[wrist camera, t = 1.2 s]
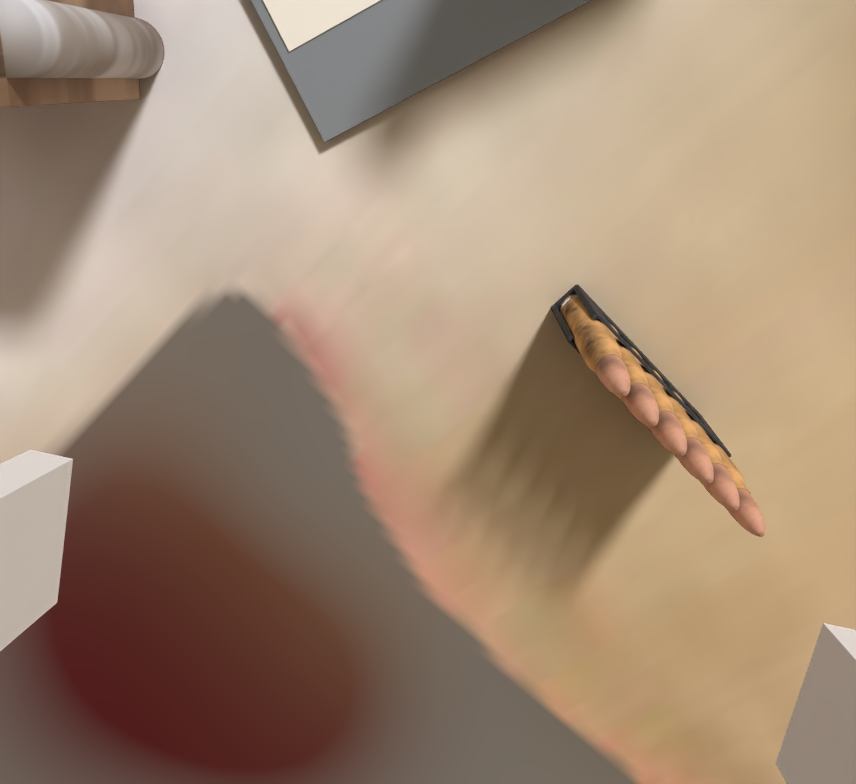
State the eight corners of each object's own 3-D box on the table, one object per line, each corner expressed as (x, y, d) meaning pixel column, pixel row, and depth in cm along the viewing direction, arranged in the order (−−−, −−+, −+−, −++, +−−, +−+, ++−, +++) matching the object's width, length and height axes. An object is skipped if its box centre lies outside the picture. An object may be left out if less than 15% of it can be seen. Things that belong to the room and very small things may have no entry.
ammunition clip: (703, 417, 43) (794, 535, 32) (676, 438, 43) (757, 562, 32) (576, 283, 40) (627, 361, 29) (549, 307, 41) (590, 393, 30)
